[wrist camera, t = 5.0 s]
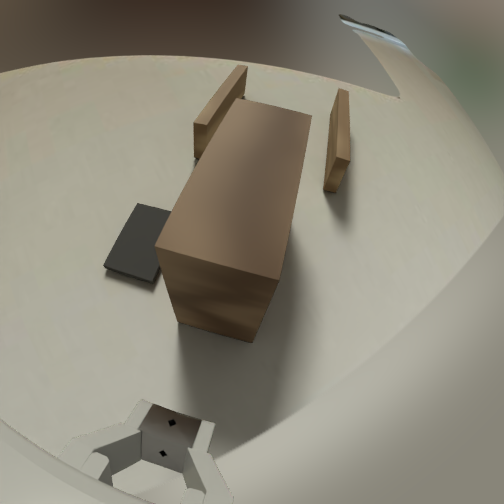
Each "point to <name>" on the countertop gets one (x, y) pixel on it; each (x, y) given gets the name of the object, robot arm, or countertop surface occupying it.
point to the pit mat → (138, 244)
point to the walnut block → (235, 220)
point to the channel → (235, 89)
